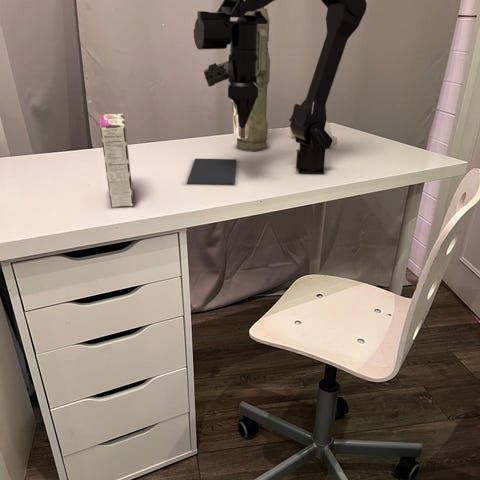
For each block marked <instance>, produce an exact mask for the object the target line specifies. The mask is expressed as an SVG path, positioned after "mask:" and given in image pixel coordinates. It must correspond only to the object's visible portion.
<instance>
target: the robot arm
mask: <svg viewBox="0 0 480 480" xmlns="http://www.w3.org/2000/svg"><path fill="white" fill-rule="evenodd" d="M275 1H276V0H223V1H222V2H221V4H220V6H219V8H218V10H217V11H215V12H213V11H207V10H206V11H205V10H198V11H197V13H196V14H197V17H196V19H195V23H194V28H193V39H194V44H195V47H196V48H197V49H198V50H199V51H201V50H202V51H203V50H226V49H227V47H228V45H230V48H229V51H230V53H229V54H228V60H226V61H224V62H222V63H219V64H218V63H216V62H213V63H212V64H209V65H208V67H207V68H206V69H204V70H203V75H204V77H205V80H206V83H207V86H208V87H210V88H211V87H213V86H215V85H216V84H218V83H222V82H224V81H226V80H228V83H229V84H228V86H227V98H229V99H230V100H231V99H232V100H233V102H234V103H235V104H236V108H237V113H238V119H239V125H240V128H245V126H246V124H247V121H248V118H249V116H250V113H251V111H252V108H253V106H254V104H255V101H256V99H257V98H258V85H257V76H256V75H257V40H258V24H267V23H268V20H267V19H266V18H265V17H264V16H263V15H262V13H261V11H256V10H258V9H260V8H262V7H264V8H265V7H267V6H269V5H270V4H271V3H273V2H275ZM320 1H321V3H322V4H323V5H324V6H325V7H326V8H327V10H326V16H325V23H326V24H325V25H326V36H325V38H324V40H323V41H324V42H323V45H322V48H321V51H320V54H319V57H318V60H317V64H316V66H315V69H314V73H313V77H312V79H311V82H310V85H309V88H308V91H307V94H306V96H305V99H304V100H303V102H301V104H298V103H295V104H294V106H293V111H292V114H291V116H290V118H289V120H288V121H289V122H290V125H289V129H290V132H291V131H292V133H293V137H294V139H295V142H296V143H297V144H299V147H298V149H296V154H295V155H296V156H295V168H296V170H297V172H298V174H314V175H315V174H317V175H318V174H320V175H324V174H326V172H325V161H326V151H327V150H328V149H331V147H332V146H331V144H332V141H333V140H332V138H331V137H330V136H329V135H328V133H327V132H326V131H325V125H326V120H327V118H328V117H327V103H328V102H327V101H328V98H329V96H330V93H331V90H332V87H333V84H334V81H335V78H336V75H337V72H338V69H339V66H340V63H341V60H342V57H343V55H344V51H345V49H346V46H347V43H348V40H349V39H350V37H351V36H352V35H353V34H354V33H355V31H356V30H357V29H358V28H359V26H360V24H361V23H362V20H363V18H364V16H365V14H366V11H367V8H368V7H367V6H368V3H367V1H366V0H320ZM253 11H255V12H254V13H253V14H252V15H244V14H246V13H247V12H253ZM231 18H237V20H231Z"/></svg>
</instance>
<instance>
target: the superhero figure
mask: <svg viewBox="0 0 480 480" xmlns="http://www.w3.org/2000/svg"><path fill="white" fill-rule="evenodd" d="M325 131H326V132H327V133H328V135H329V136H330V137H331V138H332V140H333V141H332V144H331V146H330V147H331V148H335V147H336V146H337V144H338V137H336V136H334V135H333V133H332V129H331V125H330V123H329V122H328V121H327V120H326V125H325ZM290 137H291V138H294V135H293V133H292V131H291V130H290Z"/></svg>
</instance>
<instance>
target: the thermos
mask: <svg viewBox="0 0 480 480" xmlns="http://www.w3.org/2000/svg"><path fill="white" fill-rule="evenodd" d="M256 11H261V13H262V15H263V16H264V17H265V18H266V19H267V20H268V23H267V24H258V40H257V75H256V76H257V85H258V98H257V99H256V101H255V104H254V106H253V108H252V111H251V113H250V122H249V134H248V138H245V139H238V138H236V148H237V150H241V151H245V152H262V151H264V150H266V149H267V140H268V129H269V124H268V120H267V108H268V106H267V105H268V84H269V83H270V73H271V57H270V54H269V46H268V45H269V42H270V41H269V40H270V17H269V13H268V8H265V6H264V7H262V8H260V9H258V10H256ZM254 12H255V11H253V12H247V13H246V14H244V15H252V14H253V13H254Z"/></svg>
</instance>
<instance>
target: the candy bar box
mask: <svg viewBox="0 0 480 480" xmlns="http://www.w3.org/2000/svg"><path fill="white" fill-rule="evenodd" d="M99 121H100V123H99V124H100V125H99V130H100V136H101V144H102V145H101V146H102V151H103V160H104V165H105V172H106V179H107V187H108V195H109V202H110V207H111V208H113V209H114V208H115V209H118V208H128V207H135V204H134V203H135V202H134V190H133V183H132V173H131V162H130V156H129V155H130V154H129V147H128V137H127V129H126V122H125V115H124V113H109V114H108V113H104V114H100V120H99Z"/></svg>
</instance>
